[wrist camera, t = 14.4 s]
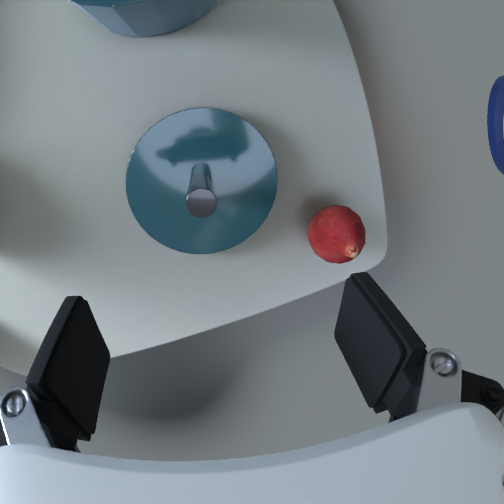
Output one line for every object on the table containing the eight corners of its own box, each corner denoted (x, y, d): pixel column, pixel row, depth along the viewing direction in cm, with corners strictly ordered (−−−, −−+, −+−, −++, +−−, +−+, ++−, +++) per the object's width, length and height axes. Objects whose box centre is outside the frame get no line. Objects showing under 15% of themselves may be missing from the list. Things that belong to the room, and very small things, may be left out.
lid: (275, 106, 24) (297, 105, 19) (273, 242, 31) (290, 275, 26) (121, 117, 22) (98, 120, 17) (140, 254, 29) (128, 290, 23)
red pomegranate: (333, 185, 29) (372, 211, 22) (352, 225, 32) (389, 258, 25) (289, 215, 30) (316, 249, 23) (312, 252, 33) (341, 292, 26)
